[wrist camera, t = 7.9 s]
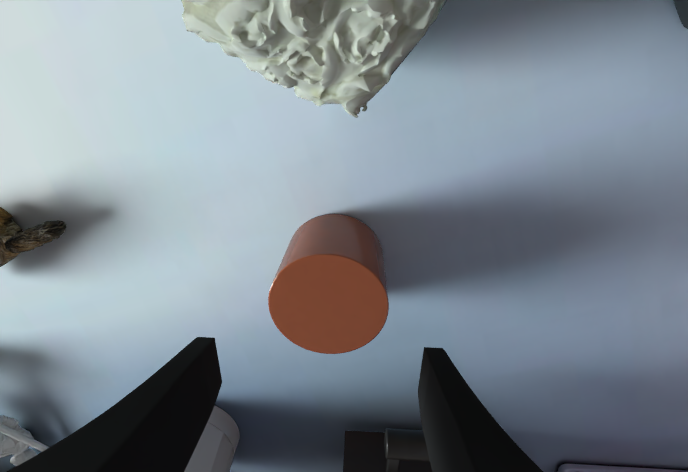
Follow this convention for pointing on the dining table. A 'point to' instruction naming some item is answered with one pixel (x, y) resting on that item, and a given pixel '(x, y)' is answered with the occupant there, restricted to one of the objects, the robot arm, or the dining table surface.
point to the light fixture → (682, 11)
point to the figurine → (17, 441)
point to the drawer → (386, 451)
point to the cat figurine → (24, 236)
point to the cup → (215, 444)
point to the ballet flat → (317, 41)
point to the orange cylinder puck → (331, 286)
